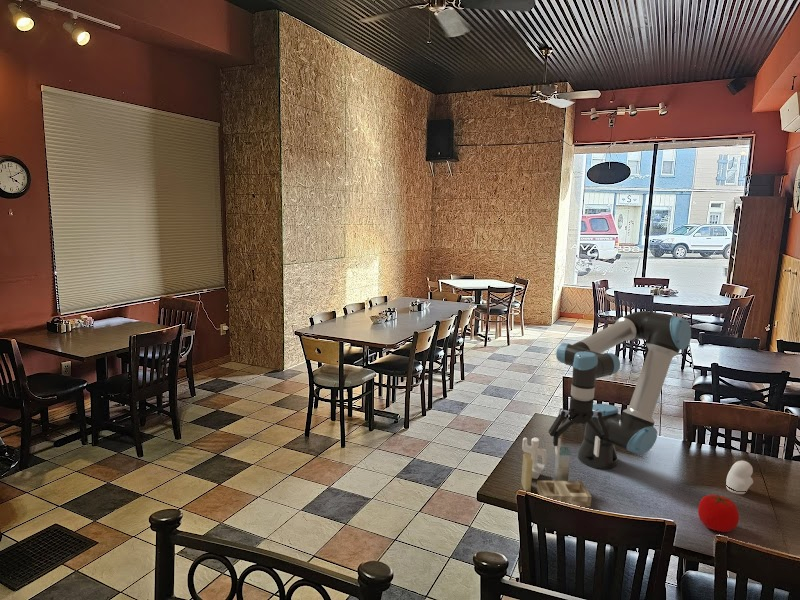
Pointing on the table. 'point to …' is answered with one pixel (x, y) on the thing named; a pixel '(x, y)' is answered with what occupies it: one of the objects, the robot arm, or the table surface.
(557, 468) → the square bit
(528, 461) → the pale yellow rectangular block
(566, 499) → the socket block
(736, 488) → the figurine
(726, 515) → the tomato
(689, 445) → the table surface
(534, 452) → the figurine
